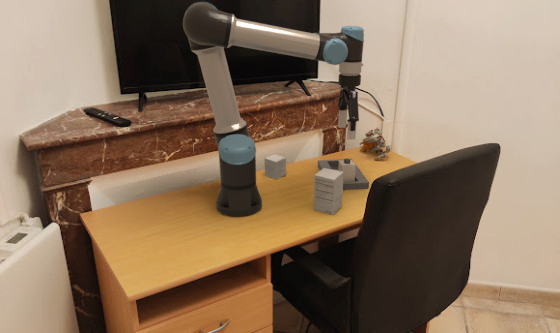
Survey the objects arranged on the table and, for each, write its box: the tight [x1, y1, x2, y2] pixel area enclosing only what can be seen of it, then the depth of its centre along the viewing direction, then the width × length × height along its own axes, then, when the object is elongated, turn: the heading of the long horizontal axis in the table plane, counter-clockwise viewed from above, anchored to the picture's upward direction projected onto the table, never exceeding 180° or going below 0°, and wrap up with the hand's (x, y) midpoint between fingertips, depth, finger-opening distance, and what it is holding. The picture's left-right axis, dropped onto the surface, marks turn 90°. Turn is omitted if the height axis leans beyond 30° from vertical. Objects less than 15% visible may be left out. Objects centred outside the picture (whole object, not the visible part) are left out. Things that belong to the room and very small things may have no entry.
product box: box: [264, 153, 287, 180], centre depth 180 cm, size 6×6×7 cm
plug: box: [338, 158, 357, 182], centre depth 172 cm, size 5×5×9 cm
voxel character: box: [359, 127, 391, 161], centre depth 198 cm, size 11×10×15 cm
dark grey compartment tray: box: [317, 158, 370, 191], centre depth 179 cm, size 14×24×2 cm, turn 7°
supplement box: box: [313, 168, 344, 215], centre depth 153 cm, size 7×7×13 cm
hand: (346, 133), depth 167 cm, fingers open, 13 cm apart
